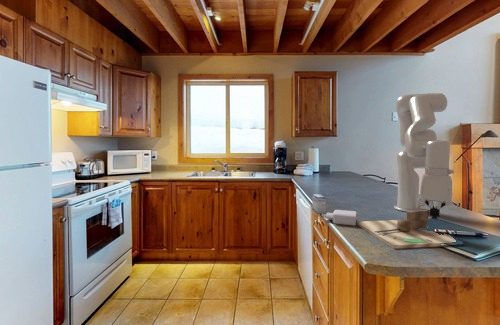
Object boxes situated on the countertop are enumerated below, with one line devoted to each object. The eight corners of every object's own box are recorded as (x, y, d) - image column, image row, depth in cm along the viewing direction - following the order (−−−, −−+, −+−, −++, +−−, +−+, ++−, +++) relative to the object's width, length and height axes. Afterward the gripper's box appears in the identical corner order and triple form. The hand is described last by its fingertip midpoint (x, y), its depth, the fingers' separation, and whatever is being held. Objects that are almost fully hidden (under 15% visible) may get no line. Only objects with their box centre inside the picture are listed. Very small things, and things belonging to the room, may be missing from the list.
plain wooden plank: (421, 225, 106) (422, 208, 106) (431, 228, 102) (432, 211, 101) (373, 231, 100) (373, 213, 100) (381, 235, 96) (381, 216, 95)
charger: (323, 217, 125) (356, 220, 119) (320, 222, 117) (355, 226, 111) (323, 207, 125) (356, 210, 119) (320, 212, 116) (355, 216, 110)
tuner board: (411, 222, 115) (411, 218, 115) (463, 245, 90) (463, 241, 89) (355, 224, 113) (355, 221, 113) (393, 248, 87) (393, 244, 87)
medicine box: (312, 209, 138) (312, 194, 137) (320, 209, 138) (320, 193, 138) (317, 214, 130) (317, 197, 130) (325, 213, 131) (325, 197, 130)
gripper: (461, 172, 98) (459, 219, 99) (415, 170, 107) (413, 212, 109) (461, 174, 92) (458, 224, 93) (412, 171, 101) (410, 217, 103)
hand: (434, 218), depth 101 cm, fingers closed
